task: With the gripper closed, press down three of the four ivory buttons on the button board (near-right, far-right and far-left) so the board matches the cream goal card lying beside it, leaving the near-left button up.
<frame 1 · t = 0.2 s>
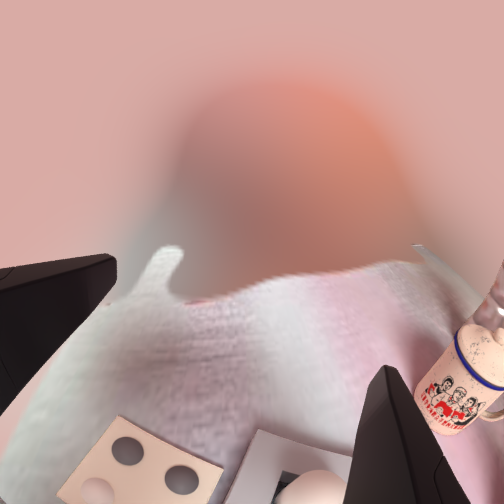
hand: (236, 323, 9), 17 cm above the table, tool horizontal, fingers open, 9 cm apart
goal card: (140, 489, 15), on the table
teacup with lid: (448, 414, 25), on the table
button d: (310, 502, 14), point 3 cm above the table, slide at 0.0 cm
plastic bottle: (468, 350, 36), on the table
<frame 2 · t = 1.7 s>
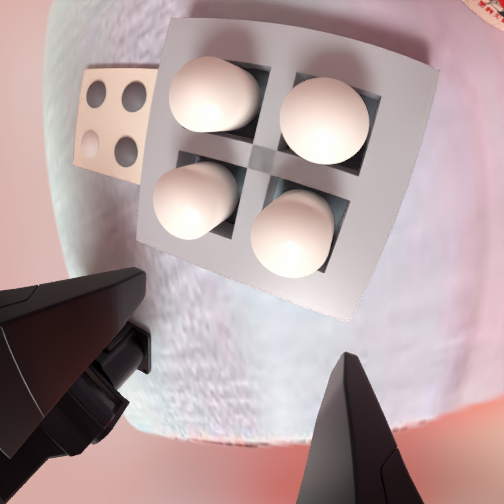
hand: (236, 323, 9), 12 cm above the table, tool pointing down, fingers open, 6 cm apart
button c: (327, 121, 14), point 3 cm above the table, slide at 0.0 cm
goal card: (113, 121, 21), on the table
button a: (295, 230, 16), point 3 cm above the table, slide at 0.0 cm
board: (272, 155, 18), on the table
button d: (216, 96, 15), point 3 cm above the table, slide at 0.0 cm
button b: (196, 198, 17), point 3 cm above the table, slide at 0.0 cm
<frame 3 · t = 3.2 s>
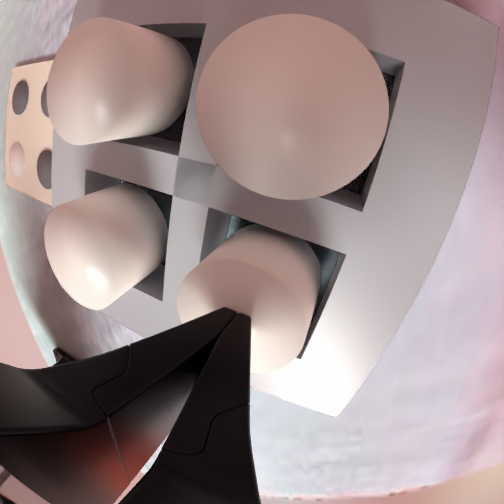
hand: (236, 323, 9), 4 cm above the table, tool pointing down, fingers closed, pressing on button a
button c: (300, 108, 7), point 3 cm above the table, slide at 0.0 cm
goal card: (37, 130, 14), on the table
button a: (254, 295, 10), point 3 cm above the table, slide at 0.6 cm, touching gripper
board: (223, 170, 12), on the table
button d: (117, 81, 8), point 3 cm above the table, slide at 0.0 cm
button b: (104, 243, 11), point 3 cm above the table, slide at 0.0 cm
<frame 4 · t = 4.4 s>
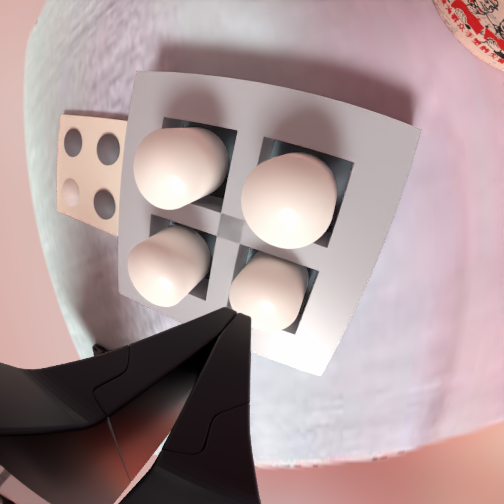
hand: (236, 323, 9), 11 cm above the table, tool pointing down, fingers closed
button c: (293, 196, 14), point 3 cm above the table, slide at 0.0 cm
goal card: (91, 171, 22), on the table
button a: (270, 288, 18), point 2 cm above the table, slide at 1.5 cm
board: (244, 216, 19), on the table
button d: (181, 165, 15), point 3 cm above the table, slide at 0.0 cm
button b: (169, 264, 18), point 3 cm above the table, slide at 0.0 cm
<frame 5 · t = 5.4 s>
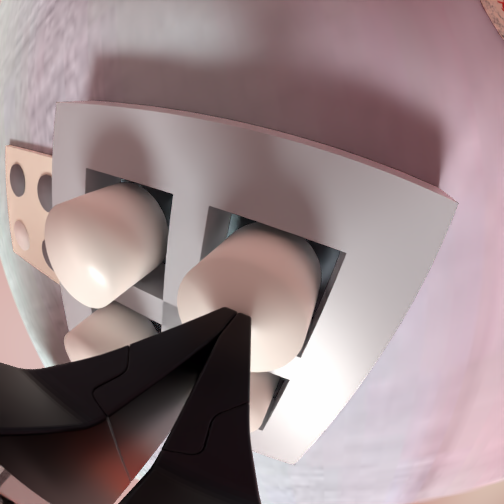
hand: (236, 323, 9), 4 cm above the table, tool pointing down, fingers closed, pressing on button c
button c: (254, 294, 10), point 3 cm above the table, slide at 0.6 cm, touching gripper
goal card: (37, 214, 17), on the table
button a: (232, 384, 14), point 2 cm above the table, slide at 1.5 cm
board: (201, 292, 14), on the table
button d: (104, 242, 11), point 3 cm above the table, slide at 0.0 cm
button b: (112, 348, 13), point 3 cm above the table, slide at 0.0 cm
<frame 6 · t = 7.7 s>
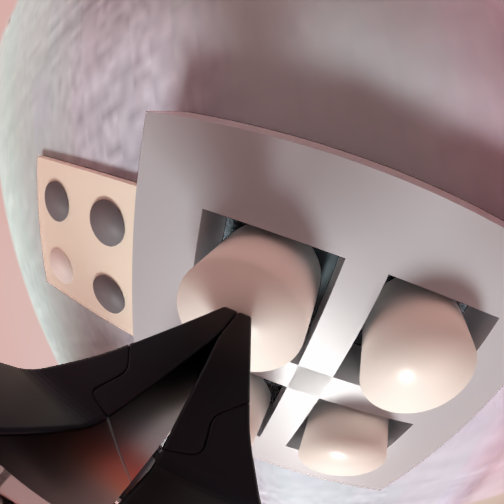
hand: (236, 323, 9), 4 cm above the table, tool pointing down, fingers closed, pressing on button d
button c: (415, 344, 9), point 2 cm above the table, slide at 1.5 cm
goal card: (85, 244, 16), on the table
button a: (346, 431, 12), point 2 cm above the table, slide at 1.5 cm
board: (319, 344, 13), on the table
button d: (254, 294, 10), point 2 cm above the table, slide at 1.0 cm, touching gripper
button b: (216, 412, 12), point 3 cm above the table, slide at 0.0 cm
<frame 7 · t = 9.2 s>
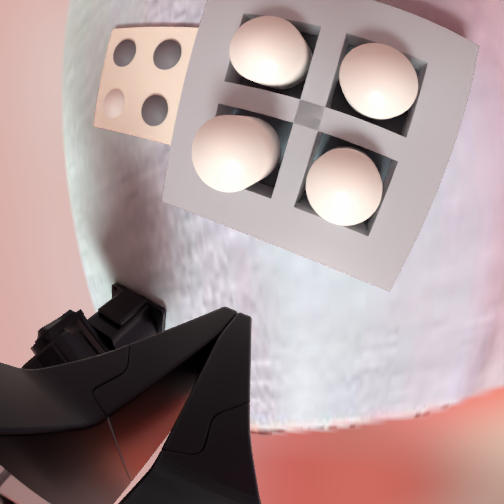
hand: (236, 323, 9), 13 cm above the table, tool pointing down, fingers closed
button c: (377, 83, 13), point 2 cm above the table, slide at 1.5 cm
goal card: (142, 80, 20), on the table
button a: (345, 182, 16), point 2 cm above the table, slide at 1.5 cm
board: (315, 116, 17), on the table
button d: (273, 54, 14), point 2 cm above the table, slide at 1.5 cm
button b: (238, 151, 16), point 3 cm above the table, slide at 0.0 cm
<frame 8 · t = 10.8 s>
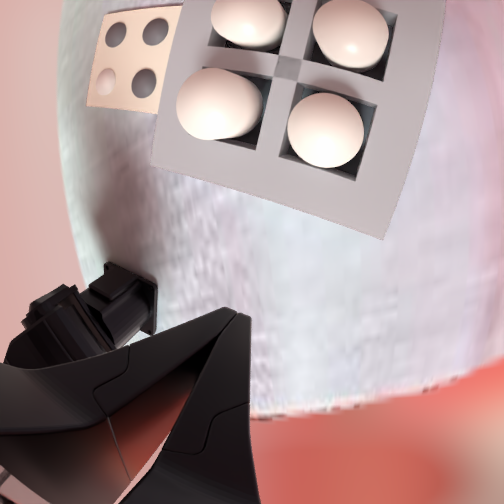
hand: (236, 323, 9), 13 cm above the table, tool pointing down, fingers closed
button c: (351, 36, 13), point 2 cm above the table, slide at 1.5 cm
goal card: (132, 58, 19), on the table
button a: (327, 130, 16), point 2 cm above the table, slide at 1.5 cm
board: (295, 75, 17), on the table
button d: (252, 19, 14), point 2 cm above the table, slide at 1.5 cm
button b: (221, 104, 16), point 3 cm above the table, slide at 0.0 cm
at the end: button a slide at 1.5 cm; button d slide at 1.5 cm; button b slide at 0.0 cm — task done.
